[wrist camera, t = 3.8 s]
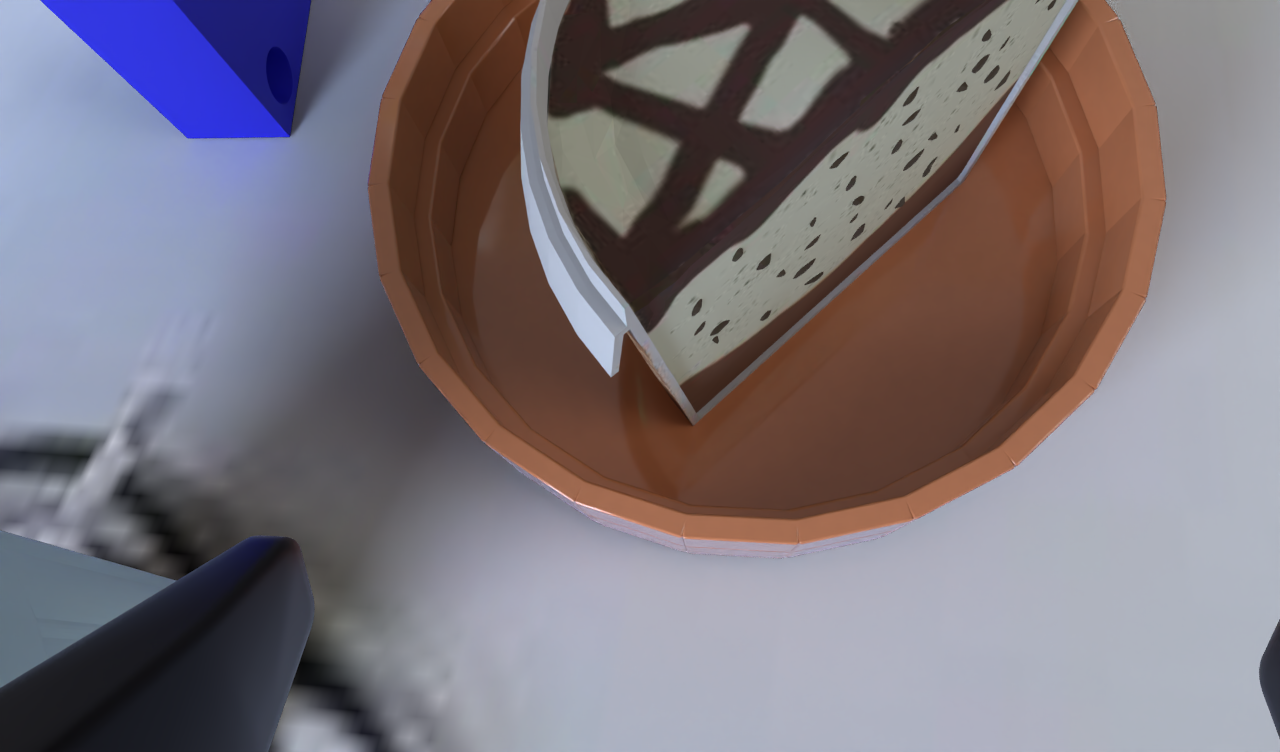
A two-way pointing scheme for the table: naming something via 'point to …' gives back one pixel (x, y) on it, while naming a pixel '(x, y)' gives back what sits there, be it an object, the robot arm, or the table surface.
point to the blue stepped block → (202, 58)
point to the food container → (748, 159)
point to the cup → (58, 599)
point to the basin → (820, 351)
